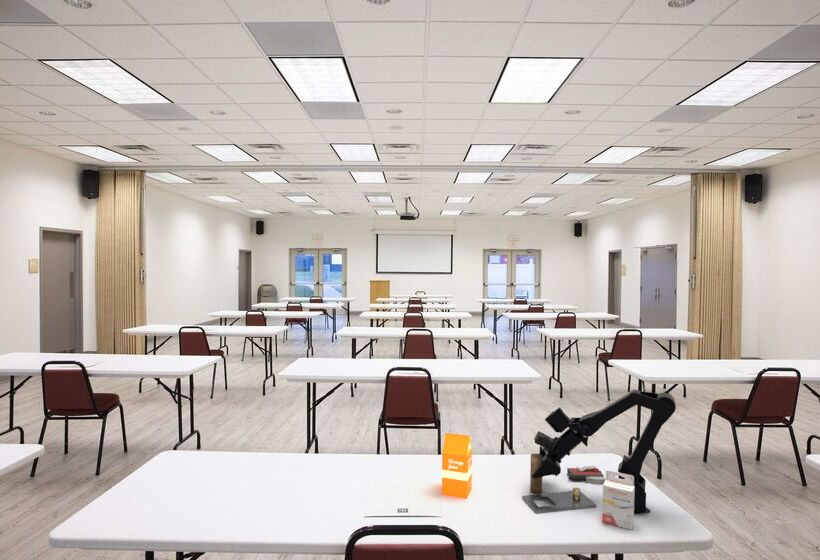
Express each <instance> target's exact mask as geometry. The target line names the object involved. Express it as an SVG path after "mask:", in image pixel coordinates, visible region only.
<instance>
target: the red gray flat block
mask: <svg viewBox="0 0 820 560" xmlns="http://www.w3.org/2000/svg"><path fill="white" fill-rule="evenodd" d="M566 471H567V473H566V475H567V477H568V479H567V480H569V481H572V482H575V481H576V482H578V481H579V482H581V481H586V483H587V482H589V483H588V484H591V483H593V484H592V485H603V484H604V482H605V480H606V478H604V474H603V473H602V470H599V468H597V466H595V465H585V466H582V467H581V468H580V467H579V466H576V467H567V470H566Z"/></svg>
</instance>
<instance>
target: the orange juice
mask: <svg viewBox="0 0 820 560" xmlns="http://www.w3.org/2000/svg"><path fill="white" fill-rule="evenodd" d="M441 460H442V461H441V495H442V496H447V497H449V496H450V497H453V498H454V497H455V498H461V499H468V497H469V495H470V493H471V491H472V484H473V483H472V477H473V475H472V473H473V472H472V471H473V465H472V464H473V461H472V460H473V447H472V442H471V436H470V435H468V434H467V435H466V434H458V433H448V432H445V434H444V439H443V448H442V451H441Z"/></svg>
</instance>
